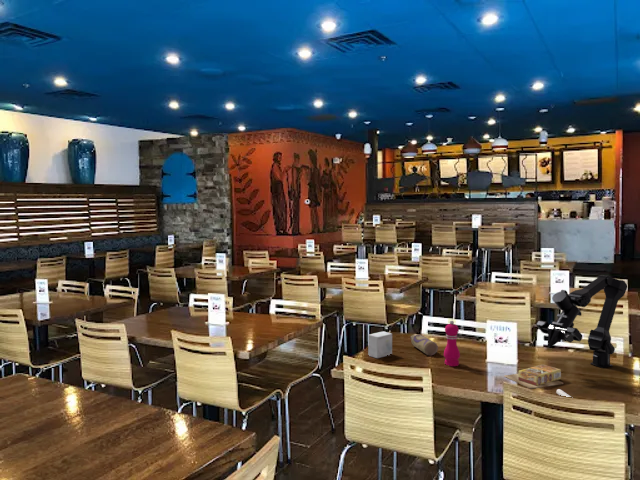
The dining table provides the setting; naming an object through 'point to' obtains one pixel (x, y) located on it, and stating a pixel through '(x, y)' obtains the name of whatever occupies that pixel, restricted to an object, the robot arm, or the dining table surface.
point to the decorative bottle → (424, 344)
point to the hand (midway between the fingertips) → (548, 346)
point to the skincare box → (380, 344)
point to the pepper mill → (451, 345)
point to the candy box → (539, 374)
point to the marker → (562, 393)
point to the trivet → (528, 385)
